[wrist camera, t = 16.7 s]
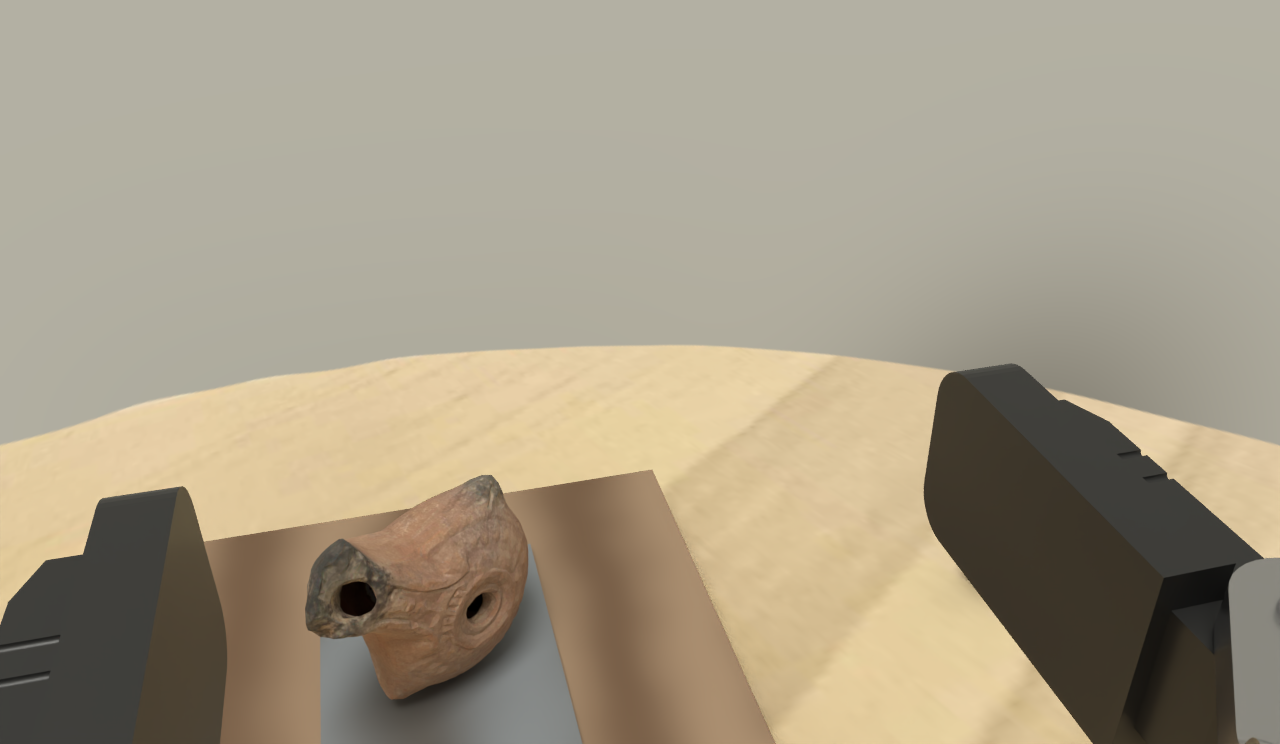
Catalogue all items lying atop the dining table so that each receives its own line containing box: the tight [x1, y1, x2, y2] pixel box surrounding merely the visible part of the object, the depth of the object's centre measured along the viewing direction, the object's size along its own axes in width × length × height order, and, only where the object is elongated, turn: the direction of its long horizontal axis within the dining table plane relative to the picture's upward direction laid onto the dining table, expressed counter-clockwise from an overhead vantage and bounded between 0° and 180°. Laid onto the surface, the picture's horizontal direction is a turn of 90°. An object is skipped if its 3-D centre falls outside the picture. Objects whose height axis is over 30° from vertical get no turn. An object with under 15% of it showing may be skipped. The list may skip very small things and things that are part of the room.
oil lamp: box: [305, 475, 528, 700], centre depth 35 cm, size 9×4×8 cm, turn 148°
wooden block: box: [204, 470, 775, 744], centre depth 39 cm, size 20×16×3 cm
